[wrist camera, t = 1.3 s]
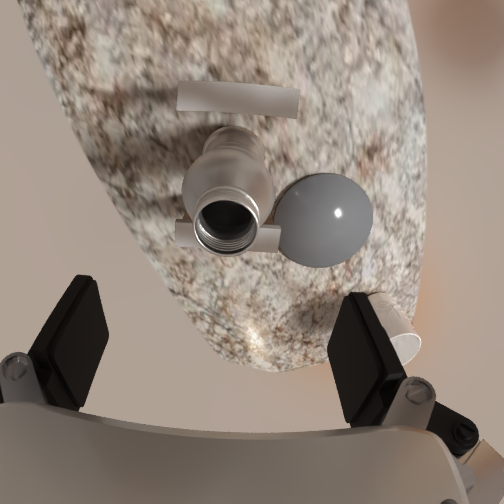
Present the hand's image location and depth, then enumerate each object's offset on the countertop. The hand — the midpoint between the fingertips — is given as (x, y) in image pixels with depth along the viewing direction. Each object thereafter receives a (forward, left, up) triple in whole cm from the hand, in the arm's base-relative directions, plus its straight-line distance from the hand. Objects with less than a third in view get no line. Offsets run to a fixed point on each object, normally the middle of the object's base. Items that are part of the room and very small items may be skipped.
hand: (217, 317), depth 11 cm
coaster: (+8, +12, -27) cm, 30 cm away
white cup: (+22, +24, -27) cm, 42 cm away
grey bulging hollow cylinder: (0, 0, -27) cm, 27 cm away
